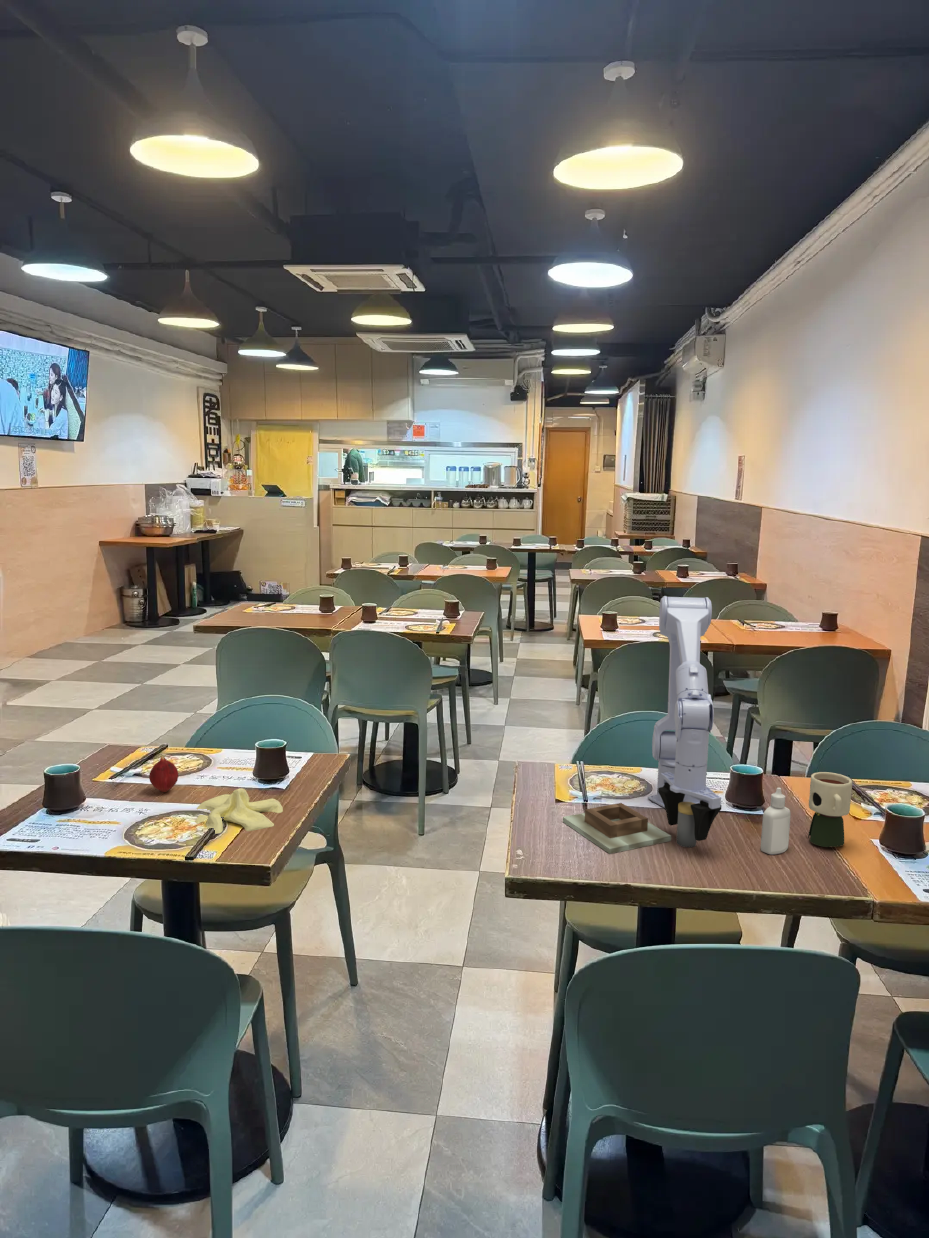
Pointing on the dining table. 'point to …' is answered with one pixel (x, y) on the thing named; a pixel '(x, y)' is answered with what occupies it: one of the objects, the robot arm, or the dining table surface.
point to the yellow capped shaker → (685, 825)
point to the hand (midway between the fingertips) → (687, 831)
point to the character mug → (829, 808)
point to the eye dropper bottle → (776, 825)
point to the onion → (163, 775)
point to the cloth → (238, 811)
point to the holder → (616, 828)
